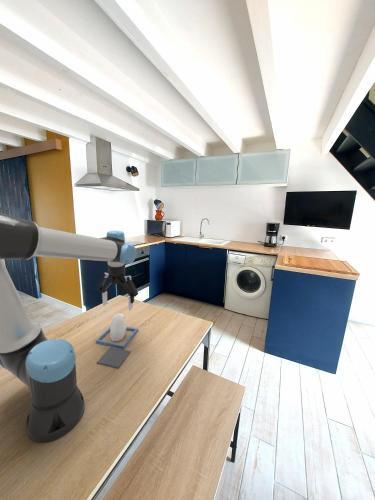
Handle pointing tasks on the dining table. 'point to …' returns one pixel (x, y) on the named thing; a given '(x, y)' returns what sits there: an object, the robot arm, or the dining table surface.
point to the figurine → (118, 327)
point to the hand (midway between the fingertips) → (117, 306)
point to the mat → (113, 357)
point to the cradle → (100, 341)
